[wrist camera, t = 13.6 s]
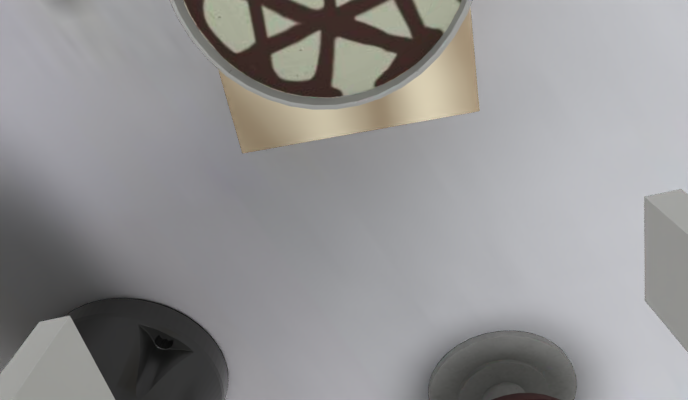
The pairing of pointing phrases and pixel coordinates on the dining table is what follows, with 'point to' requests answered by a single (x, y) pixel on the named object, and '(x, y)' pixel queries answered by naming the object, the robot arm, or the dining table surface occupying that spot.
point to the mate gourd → (504, 370)
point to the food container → (321, 45)
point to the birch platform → (392, 110)
